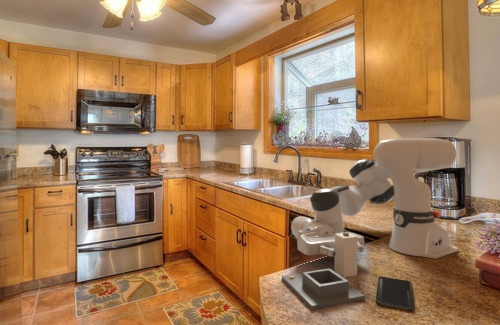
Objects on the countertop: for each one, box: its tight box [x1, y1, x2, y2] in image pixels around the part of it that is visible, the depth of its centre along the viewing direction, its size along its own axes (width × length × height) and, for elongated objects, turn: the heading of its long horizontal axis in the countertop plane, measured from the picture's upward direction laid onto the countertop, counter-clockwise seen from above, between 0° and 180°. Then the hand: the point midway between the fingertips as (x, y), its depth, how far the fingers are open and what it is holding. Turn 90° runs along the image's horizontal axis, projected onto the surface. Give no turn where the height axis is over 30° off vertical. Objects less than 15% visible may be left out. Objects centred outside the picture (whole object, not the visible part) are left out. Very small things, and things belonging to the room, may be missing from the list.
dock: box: [281, 267, 366, 311], centre depth 75 cm, size 14×16×4 cm
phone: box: [375, 276, 415, 313], centre depth 72 cm, size 8×1×15 cm
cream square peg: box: [333, 231, 358, 278], centre depth 84 cm, size 4×4×12 cm
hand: (347, 251), depth 83 cm, fingers open, 8 cm apart
